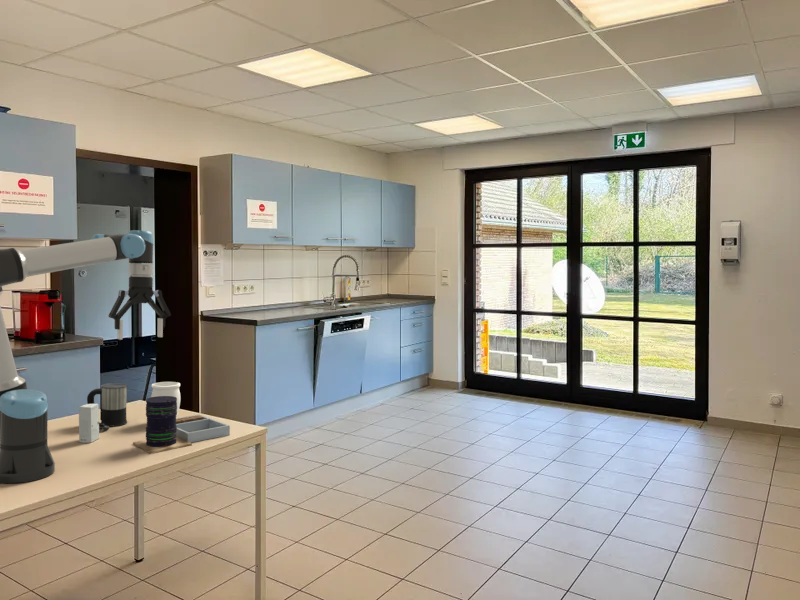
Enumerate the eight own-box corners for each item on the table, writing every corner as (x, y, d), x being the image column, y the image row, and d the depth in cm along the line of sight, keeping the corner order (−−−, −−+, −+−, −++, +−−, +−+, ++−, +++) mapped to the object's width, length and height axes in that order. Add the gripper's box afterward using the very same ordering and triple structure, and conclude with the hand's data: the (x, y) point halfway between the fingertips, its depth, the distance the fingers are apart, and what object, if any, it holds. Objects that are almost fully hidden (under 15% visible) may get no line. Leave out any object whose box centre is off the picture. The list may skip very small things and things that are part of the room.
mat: (151, 453, 199) (151, 451, 199) (132, 444, 209) (132, 442, 209) (192, 445, 209) (192, 443, 209) (172, 436, 219) (172, 434, 219)
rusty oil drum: (139, 444, 207) (139, 399, 206) (162, 437, 215) (163, 394, 215) (159, 448, 202) (160, 403, 201) (183, 441, 211) (183, 398, 210)
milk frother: (126, 419, 241) (126, 382, 240) (131, 429, 227) (131, 389, 226) (85, 423, 233) (84, 384, 233) (88, 434, 220) (87, 392, 219)
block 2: (193, 429, 230) (193, 418, 229) (189, 427, 232) (189, 416, 232) (203, 427, 232) (203, 417, 232) (199, 425, 235) (199, 415, 235)
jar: (186, 422, 239) (186, 383, 238) (163, 427, 231) (163, 387, 230) (168, 417, 245) (168, 380, 244) (145, 423, 236) (145, 384, 235)
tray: (187, 443, 211) (187, 433, 211) (158, 430, 226) (158, 421, 226) (229, 434, 223) (229, 425, 223) (199, 423, 238) (199, 414, 238)
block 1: (183, 431, 226) (183, 420, 226) (177, 429, 229) (177, 418, 229) (193, 429, 230) (193, 418, 229) (187, 427, 232) (187, 416, 232)
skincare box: (91, 443, 209) (91, 407, 208) (78, 442, 209) (78, 407, 208) (99, 437, 215) (99, 403, 214) (86, 437, 215) (86, 403, 214)
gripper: (106, 275, 200) (106, 341, 201) (180, 276, 218) (180, 337, 219) (98, 275, 206) (98, 339, 207) (171, 276, 223) (171, 335, 224)
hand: (140, 338), depth 213 cm, fingers open, 13 cm apart
